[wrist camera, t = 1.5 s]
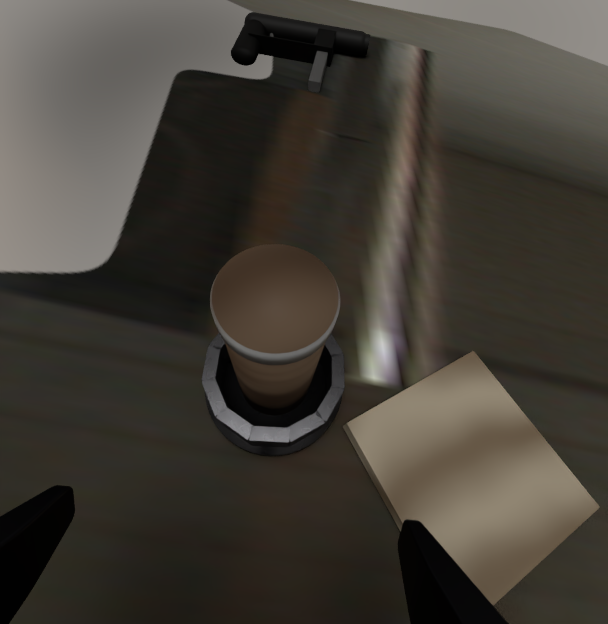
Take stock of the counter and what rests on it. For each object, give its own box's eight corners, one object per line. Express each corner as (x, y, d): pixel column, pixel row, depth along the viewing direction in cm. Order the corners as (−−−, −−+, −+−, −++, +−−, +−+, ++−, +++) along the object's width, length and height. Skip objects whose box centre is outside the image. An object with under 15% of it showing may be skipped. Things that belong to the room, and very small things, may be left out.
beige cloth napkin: (580, 505, 22) (599, 507, 20) (449, 621, 18) (463, 632, 17) (463, 357, 26) (473, 350, 25) (342, 426, 23) (346, 423, 21)
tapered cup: (323, 396, 23) (365, 319, 12) (256, 430, 21) (240, 378, 11) (290, 336, 25) (303, 228, 14) (228, 364, 23) (190, 266, 13)
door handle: (363, 83, 43) (372, 25, 49) (219, 58, 43) (247, 4, 50) (357, 108, 46) (366, 50, 52) (223, 84, 46) (249, 29, 53)
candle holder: (365, 413, 23) (381, 401, 20) (238, 485, 20) (231, 486, 17) (302, 307, 27) (306, 281, 24) (189, 355, 24) (174, 334, 21)
